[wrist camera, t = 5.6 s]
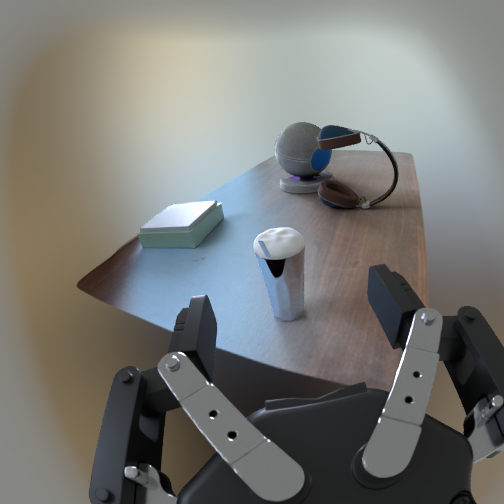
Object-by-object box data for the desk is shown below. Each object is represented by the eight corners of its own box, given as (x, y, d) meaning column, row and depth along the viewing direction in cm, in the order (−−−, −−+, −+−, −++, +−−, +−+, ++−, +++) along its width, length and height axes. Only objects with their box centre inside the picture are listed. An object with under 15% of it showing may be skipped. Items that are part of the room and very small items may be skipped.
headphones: (276, 204, 53) (393, 222, 43) (271, 125, 45) (401, 135, 35) (288, 193, 57) (394, 209, 48) (285, 121, 49) (400, 131, 40)
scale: (141, 247, 50) (134, 229, 48) (173, 219, 59) (168, 203, 57) (195, 248, 45) (189, 227, 43) (224, 217, 55) (220, 199, 53)
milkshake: (255, 326, 28) (235, 238, 23) (277, 294, 31) (263, 212, 27) (297, 336, 25) (287, 243, 20) (315, 300, 29) (309, 214, 24)
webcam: (309, 174, 72) (302, 119, 64) (345, 182, 62) (340, 119, 54) (270, 187, 66) (260, 127, 59) (306, 197, 57) (296, 126, 49)
